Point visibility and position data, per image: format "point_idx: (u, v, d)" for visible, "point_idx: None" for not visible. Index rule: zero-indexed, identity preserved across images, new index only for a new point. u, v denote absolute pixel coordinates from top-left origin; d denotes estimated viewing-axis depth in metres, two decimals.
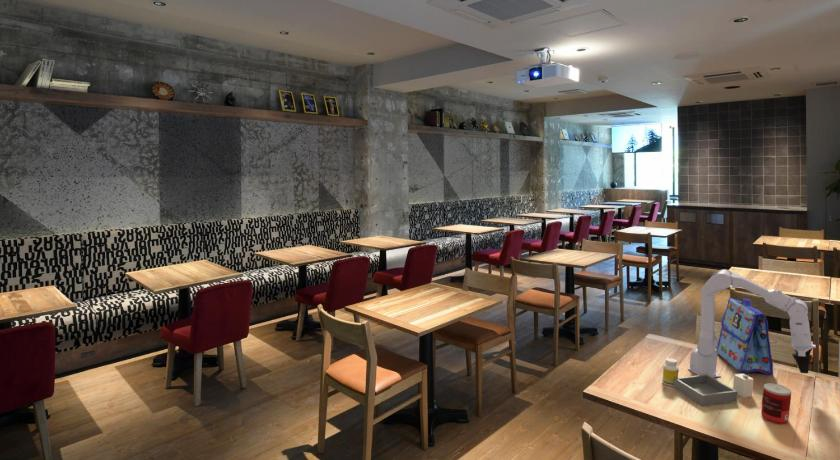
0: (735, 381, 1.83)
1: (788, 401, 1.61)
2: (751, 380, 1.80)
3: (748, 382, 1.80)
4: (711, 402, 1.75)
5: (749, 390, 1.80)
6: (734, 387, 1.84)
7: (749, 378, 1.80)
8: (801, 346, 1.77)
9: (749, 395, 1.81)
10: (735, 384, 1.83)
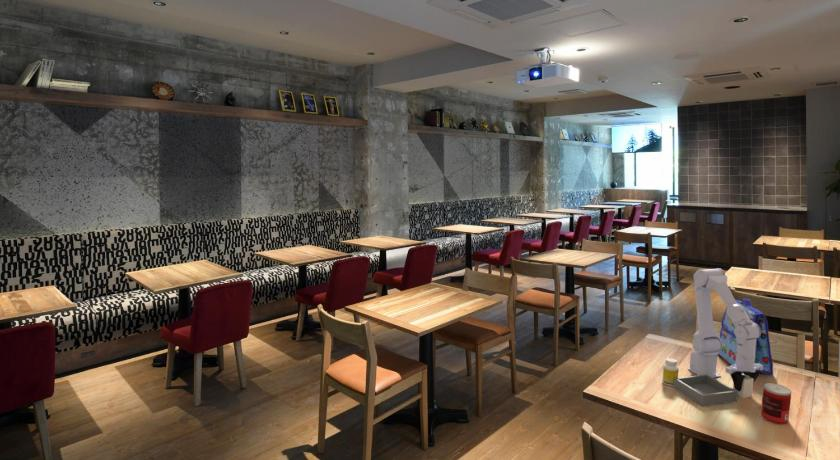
0: None
1: (788, 401, 1.61)
2: (751, 380, 1.80)
3: (748, 382, 1.80)
4: (711, 402, 1.75)
5: (749, 390, 1.80)
6: None
7: (749, 378, 1.80)
8: (738, 366, 1.81)
9: (749, 395, 1.81)
10: None
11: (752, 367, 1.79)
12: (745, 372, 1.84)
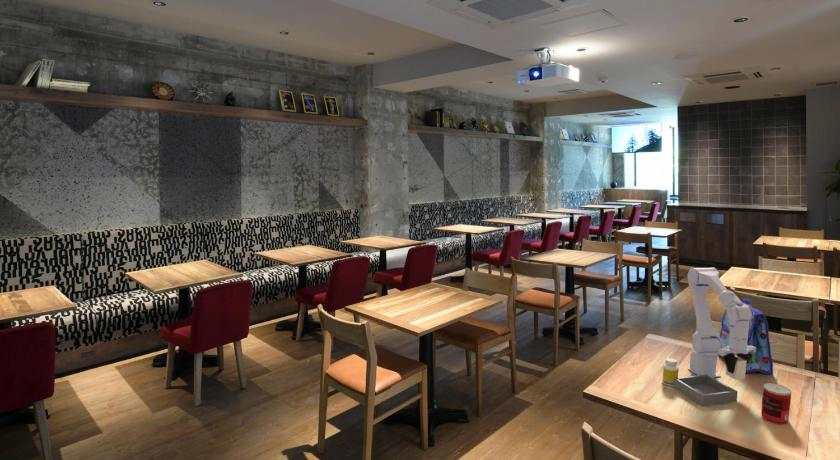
0: None
1: (788, 401, 1.61)
2: (744, 362, 1.79)
3: (741, 364, 1.79)
4: (711, 402, 1.75)
5: (742, 372, 1.79)
6: None
7: (742, 360, 1.79)
8: (730, 348, 1.80)
9: (742, 377, 1.80)
10: None
11: (745, 349, 1.78)
12: (738, 354, 1.83)
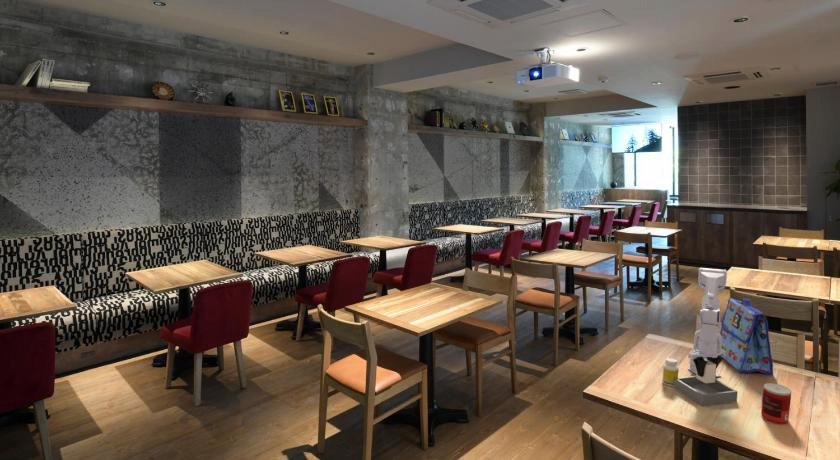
0: None
1: (788, 401, 1.61)
2: (714, 366, 1.79)
3: (710, 368, 1.79)
4: (711, 402, 1.75)
5: (712, 376, 1.80)
6: None
7: (712, 364, 1.80)
8: (700, 351, 1.80)
9: (712, 381, 1.80)
10: None
11: (714, 352, 1.78)
12: (708, 358, 1.83)
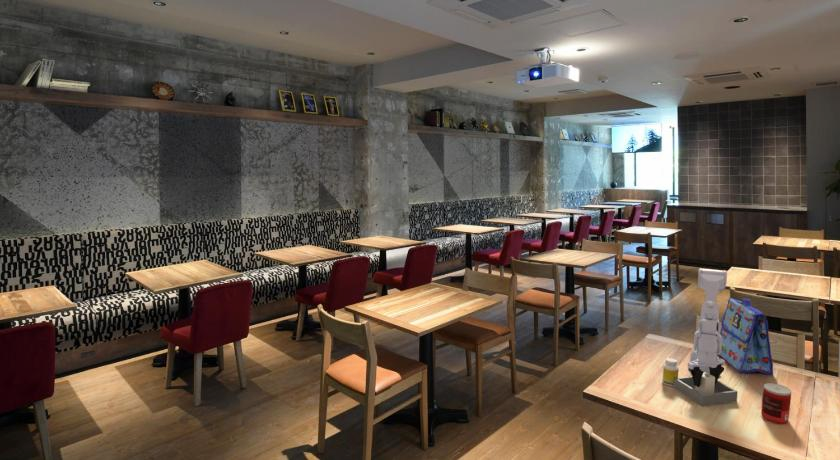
0: None
1: (788, 401, 1.61)
2: (713, 378, 1.80)
3: (709, 380, 1.80)
4: (711, 402, 1.75)
5: (711, 388, 1.80)
6: None
7: (711, 376, 1.80)
8: (699, 361, 1.81)
9: None
10: None
11: (713, 362, 1.79)
12: (710, 367, 1.84)
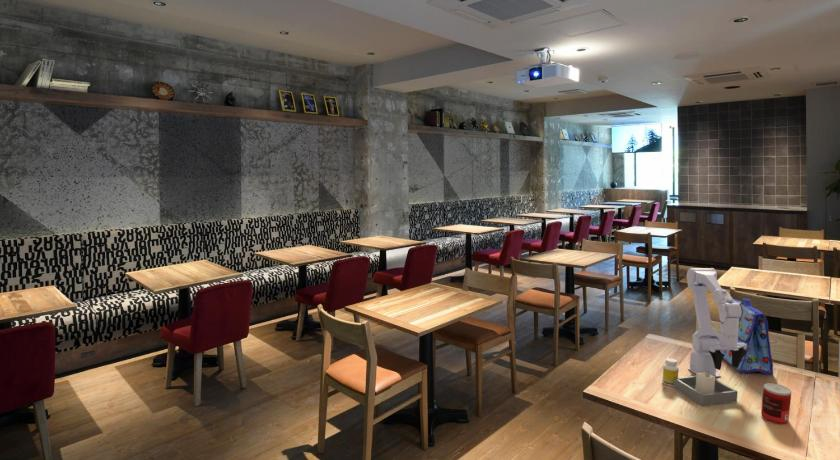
0: (697, 379, 1.83)
1: (788, 401, 1.61)
2: (713, 378, 1.80)
3: (709, 380, 1.80)
4: (711, 402, 1.75)
5: (711, 388, 1.80)
6: (696, 385, 1.84)
7: (711, 376, 1.80)
8: (721, 344, 1.82)
9: None
10: (697, 382, 1.83)
11: (735, 345, 1.80)
12: (732, 351, 1.85)
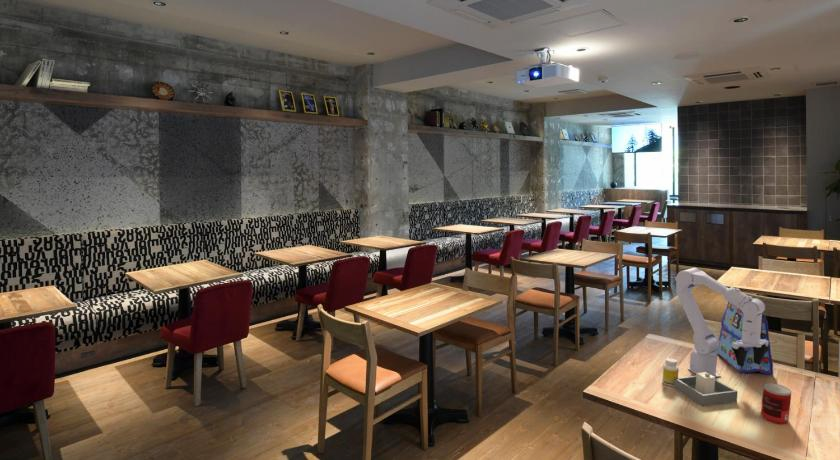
0: (697, 379, 1.83)
1: (788, 401, 1.61)
2: (713, 378, 1.80)
3: (709, 380, 1.80)
4: (711, 402, 1.75)
5: (711, 388, 1.80)
6: (696, 385, 1.84)
7: (711, 376, 1.80)
8: (744, 341, 1.85)
9: None
10: (697, 382, 1.83)
11: (758, 342, 1.83)
12: (754, 347, 1.88)
